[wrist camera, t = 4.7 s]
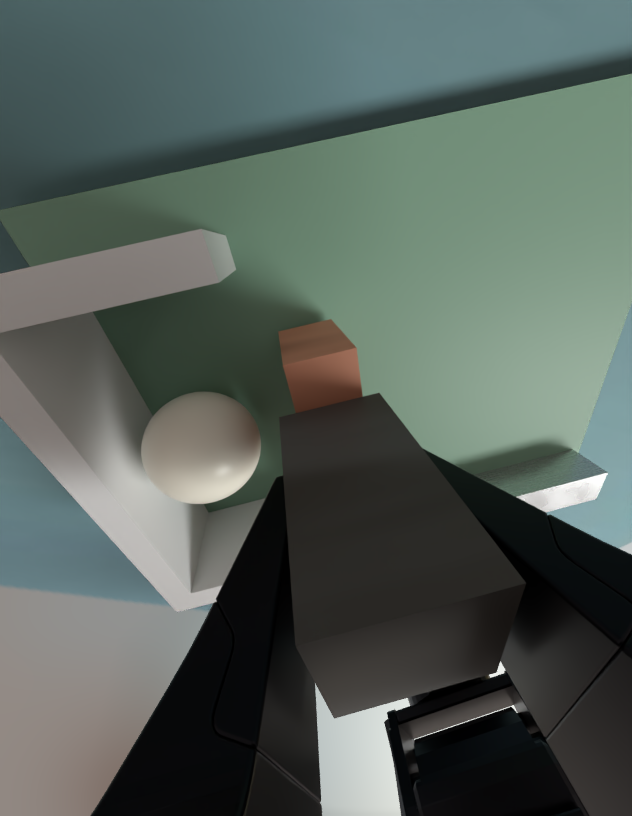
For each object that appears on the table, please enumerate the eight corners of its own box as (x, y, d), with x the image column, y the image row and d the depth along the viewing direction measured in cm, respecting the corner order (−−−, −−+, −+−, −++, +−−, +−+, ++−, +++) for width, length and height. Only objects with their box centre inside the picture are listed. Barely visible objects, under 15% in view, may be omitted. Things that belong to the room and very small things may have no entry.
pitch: (555, 467, 19) (569, 478, 18) (224, 553, 18) (222, 569, 17) (678, 72, 10) (719, 54, 9) (20, 214, 9) (-6, 211, 8)
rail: (563, 474, 18) (596, 499, 16) (227, 562, 17) (223, 597, 15) (572, 449, 17) (607, 472, 15) (215, 541, 16) (208, 577, 14)
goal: (306, 501, 15) (318, 574, 12) (197, 529, 15) (177, 612, 12) (225, 235, 9) (200, 228, 6) (37, 278, 9) (-108, 297, 6)
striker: (374, 531, 17) (464, 769, 9) (325, 544, 17) (375, 795, 9) (344, 315, 11) (552, 502, 3) (265, 334, 11) (260, 580, 3)
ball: (169, 480, 12) (255, 440, 14) (179, 551, 9) (289, 489, 11) (119, 401, 10) (225, 363, 12) (110, 457, 7) (257, 396, 9)
